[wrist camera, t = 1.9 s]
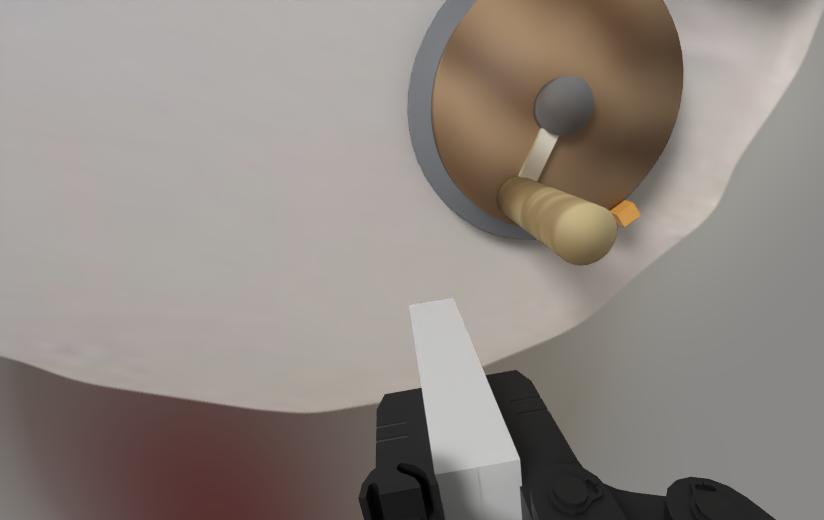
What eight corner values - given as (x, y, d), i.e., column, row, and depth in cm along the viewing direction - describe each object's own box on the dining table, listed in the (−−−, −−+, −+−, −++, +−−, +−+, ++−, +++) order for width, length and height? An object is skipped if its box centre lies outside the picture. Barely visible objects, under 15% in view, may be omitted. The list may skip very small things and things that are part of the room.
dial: (493, -86, 23) (596, -278, 12) (709, 34, 27) (949, -31, 15) (396, 177, 28) (405, 213, 17) (587, 250, 32) (701, 322, 20)
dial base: (473, -106, 25) (494, -159, 20) (712, 28, 28) (778, 9, 24) (371, 184, 31) (369, 195, 26) (581, 263, 34) (612, 285, 30)
